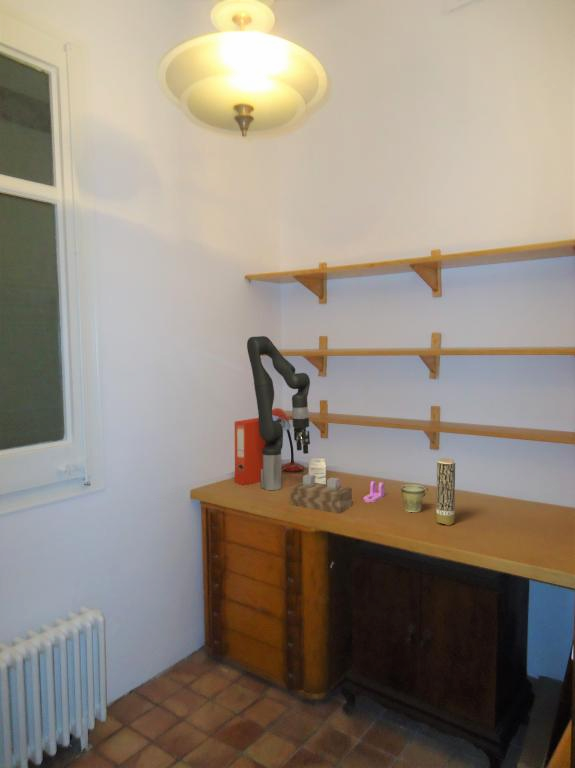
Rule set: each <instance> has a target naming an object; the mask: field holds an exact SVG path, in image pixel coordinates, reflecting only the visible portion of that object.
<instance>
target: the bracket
mask: <svg viewBox="0 0 575 768" xmlns="http://www.w3.org/2000/svg"><path fill="white" fill-rule="evenodd" d="M369 487H370V488H369V491H370V492H369V494H367V495H365V496H363V498H362V499H363V500H364V501H365V503H369V502H372V503H375V501H376V500H377V501H379V500H380V498H381V497H382V498H384V497H385V490H386V488H385V483H384V482H383V481H382V482H381V481H380V482H379V483H378V488H377V481H375V480H371V481H370V486H369ZM377 489H378V492H377ZM383 496H384V497H383ZM370 498H371V499H370ZM382 498H381V499H382ZM378 499H379V500H378ZM364 501H363V502H364ZM377 501H376V502H377Z"/></svg>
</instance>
